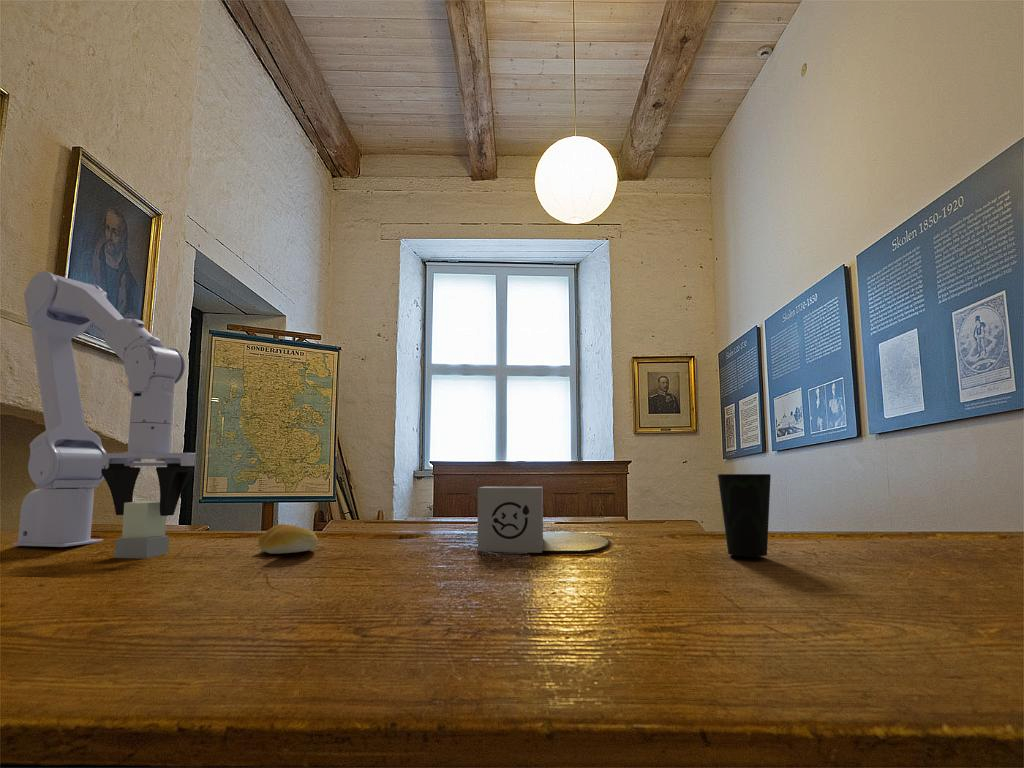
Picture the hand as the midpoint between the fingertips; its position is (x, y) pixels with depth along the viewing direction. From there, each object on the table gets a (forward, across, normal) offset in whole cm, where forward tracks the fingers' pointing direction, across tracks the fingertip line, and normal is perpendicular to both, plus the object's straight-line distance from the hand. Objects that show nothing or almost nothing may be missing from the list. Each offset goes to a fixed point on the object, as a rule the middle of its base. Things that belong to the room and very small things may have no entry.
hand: (144, 515), depth 101 cm
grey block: (+6, 0, 0) cm, 6 cm away
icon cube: (+6, +52, +21) cm, 56 cm away
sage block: (+3, 0, 0) cm, 3 cm away
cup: (+6, +88, +21) cm, 91 cm away
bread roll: (+6, +23, +7) cm, 25 cm away
